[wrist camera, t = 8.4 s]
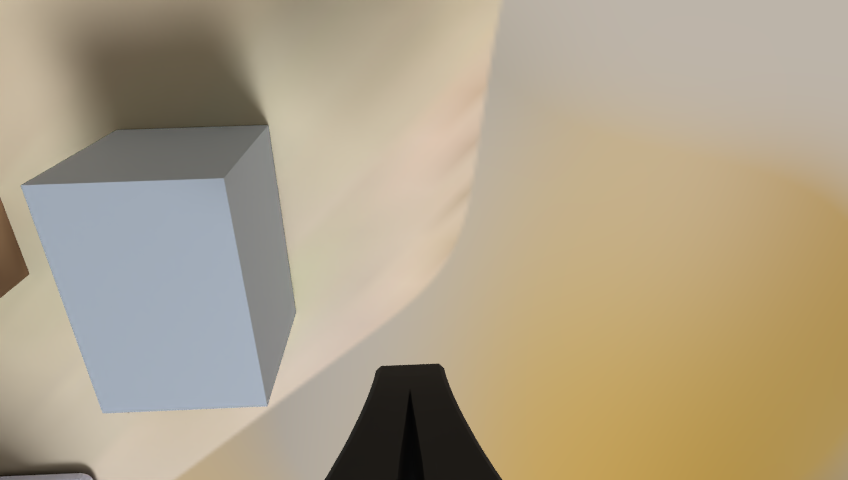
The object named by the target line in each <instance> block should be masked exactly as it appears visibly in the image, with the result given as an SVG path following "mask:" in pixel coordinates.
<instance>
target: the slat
mask: <svg viewBox="0 0 848 480" xmlns="http://www.w3.org/2000/svg"><path fill="white" fill-rule="evenodd" d="M28 275H29V272H28V269H27V266H26V264H25V261H24V258H23V256H22V253H21V251H20V248H19V245H18V243H17V240H16V238H15V235H14V232H13V230H12V227H11V225H10V222H9V219H8V217H7V214H6V211H5V209H4V206H3V204H2V201H1V198H0V298H1V297H2V296H3V295H5V294H6V293H7V292H8V291H9V290H11V289H12V288H13V287H14V286H16V285H17V284H18V283H19V282H20V281H22V280H23V279H24V278H25V277H26V276H28Z"/></svg>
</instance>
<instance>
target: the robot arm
mask: <svg viewBox="0 0 848 480" xmlns="http://www.w3.org/2000/svg"><path fill="white" fill-rule="evenodd" d="M0 480H93V479H92V477H90V476H89V475H87V474H84V473H70V474H48V475H26V476H4V477H0ZM325 480H502V479H501V477H500V476H499V474H498V473H497V471H496V470H495V469H494V467H493V465H492V464H491V462H490V461H489V459H488V458H487V457H486V455H485V453H484V452H483V450H482V448H481V446H480V445H479V443H478V442H477V440H476V438H475V436H474V434H473V433H472V431H471V429H470V427H469V426H468V424H467V422H466V420H465V418H464V416H463V414H462V412H461V411H460V409H459V406H458V404H457V402H456V400H455V398H454V396H453V393H452V391H451V388H450V386H449V383H448V380H447V378H446V374H445V370H444V368H443V367H442V366H441V365H440V364H420V365H396V366H381V367H380V368H379V369H378V370H377V371H376V373H375V377H374V381H373V384H372V387H371V389H370V392H369V395H368V397H367V400H366V402H365V405H364V407H363V409H362V411H361V414H360V416H359V418H358V420H357V422H356V424H355V426H354V428H353V430H352V432H351V434H350V436H349V438H348V440H347V442H346V444H345V446H344V448H343V450H342V451H341V453H340V455H339V456H338V458H337V460H336V461H335V463H334V465H333V467H332V468H331V470H330V472H329V474H328V475H327V477H326V478H325Z"/></svg>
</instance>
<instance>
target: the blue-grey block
mask: <svg viewBox="0 0 848 480" xmlns="http://www.w3.org/2000/svg"><path fill="white" fill-rule="evenodd" d="M21 188H22V190H23V193H24V196H25V199H26V201H27V204H28V207H29V210H30V213H31V215H32V218H33V221H34V224H35V226H36V229H37V232H38V235H39V238H40V240H41V243H42V246H43V249H44V251H45V254H46V257H47V260H48V263H49V265H50V268H51V271H52V274H53V276H54V279H55V282H56V285H57V287H58V290H59V293H60V296H61V299H62V301H63V304H64V307H65V310H66V312H67V315H68V318H69V321H70V324H71V326H72V329H73V332H74V335H75V337H76V340H77V343H78V346H79V349H80V351H81V354H82V357H83V360H84V362H85V365H86V368H87V371H88V374H89V376H90V379H91V382H92V385H93V387H94V390H95V393H96V396H97V398H98V401H99V404H100V407H101V410H102V412H103V413H121V412H144V411H167V410H191V409H214V408H237V407H261V406H268V402H269V399H270V396H271V393H272V389H273V386H274V383H275V380H276V376H277V373H278V370H279V366H280V363H281V360H282V357H283V353H284V350H285V347H286V344H287V340H288V337H289V334H290V331H291V327H292V324H293V321H294V317H295V314H296V309H295V302H294V295H293V288H292V282H291V275H290V268H289V261H288V255H287V248H286V241H285V234H284V228H283V221H282V214H281V207H280V201H279V194H278V187H277V180H276V174H275V167H274V160H273V153H272V147H271V140H270V133H269V126H268V125H252V126H222V127H192V128H162V129H131V130H115V131H114V132H112V133H110V134H109V135H107V136H105V137H103V138H102V139H100V140H98V141H96V142H95V143H93V144H91V145H90V146H88V147H86V148H84V149H83V150H81V151H79V152H77V153H76V154H74V155H72V156H71V157H69V158H67V159H65V160H64V161H62V162H60V163H58V164H57V165H55V166H53V167H52V168H50V169H48V170H46V171H45V172H43V173H41V174H39V175H38V176H36V177H34V178H33V179H31V180H29V181H27V182H26V183H24V184H22V185H21Z"/></svg>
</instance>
